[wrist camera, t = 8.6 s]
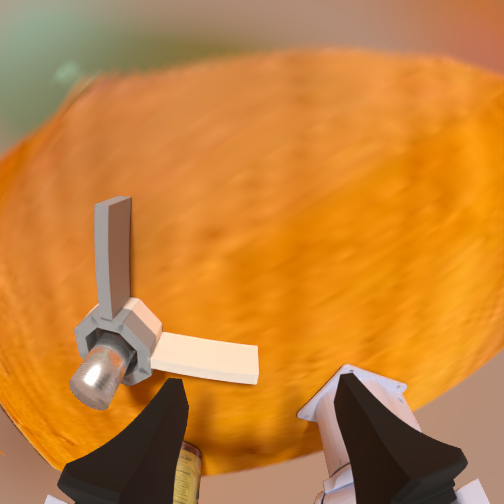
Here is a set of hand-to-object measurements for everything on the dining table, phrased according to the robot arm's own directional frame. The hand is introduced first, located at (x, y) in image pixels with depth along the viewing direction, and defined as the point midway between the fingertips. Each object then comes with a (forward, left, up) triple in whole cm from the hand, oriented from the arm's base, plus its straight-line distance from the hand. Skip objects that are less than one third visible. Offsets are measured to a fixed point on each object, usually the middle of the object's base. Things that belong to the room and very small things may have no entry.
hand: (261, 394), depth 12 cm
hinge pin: (+8, +8, -9) cm, 15 cm away
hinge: (+6, +3, -9) cm, 11 cm away
